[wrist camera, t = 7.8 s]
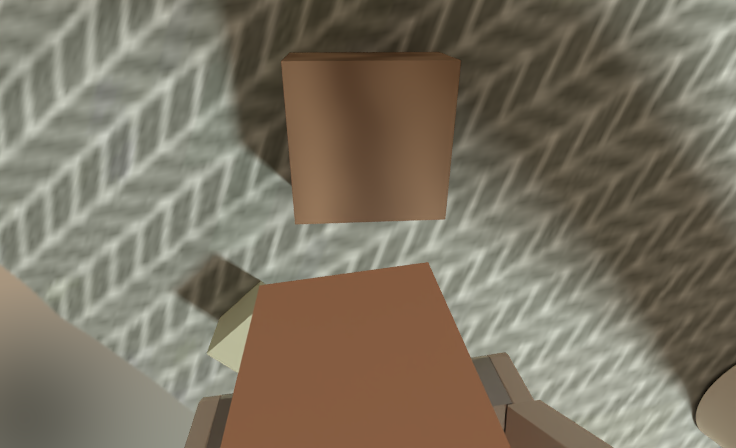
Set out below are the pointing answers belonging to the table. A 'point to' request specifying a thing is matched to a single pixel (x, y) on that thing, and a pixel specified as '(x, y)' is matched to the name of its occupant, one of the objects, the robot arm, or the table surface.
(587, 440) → the robot arm
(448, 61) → the walnut block
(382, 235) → the table surface
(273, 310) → the terracotta block
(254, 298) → the sage block
